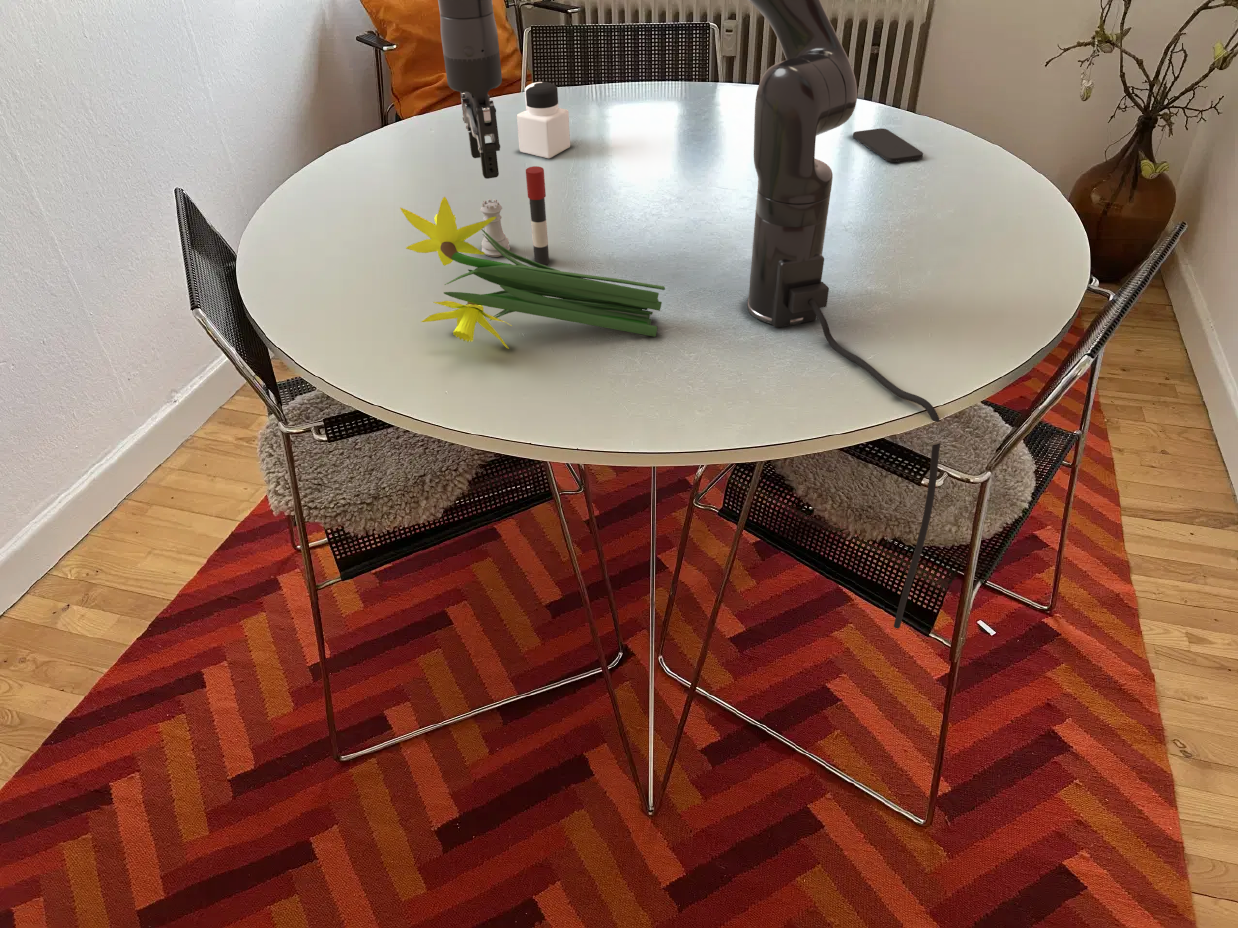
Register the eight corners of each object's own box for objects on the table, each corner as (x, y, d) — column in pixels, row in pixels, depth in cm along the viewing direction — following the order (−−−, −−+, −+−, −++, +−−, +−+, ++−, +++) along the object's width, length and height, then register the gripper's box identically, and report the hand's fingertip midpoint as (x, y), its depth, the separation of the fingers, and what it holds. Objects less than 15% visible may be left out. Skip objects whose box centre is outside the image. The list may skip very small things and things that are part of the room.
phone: (885, 127, 178) (926, 154, 167) (884, 132, 179) (925, 158, 168) (850, 132, 177) (889, 159, 166) (850, 136, 177) (889, 163, 166)
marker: (552, 264, 138) (545, 171, 129) (535, 267, 138) (527, 174, 129) (548, 257, 140) (541, 165, 131) (531, 260, 140) (523, 167, 131)
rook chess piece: (516, 250, 142) (511, 202, 137) (494, 261, 140) (489, 211, 135) (497, 242, 145) (492, 194, 140) (475, 252, 142) (469, 203, 137)
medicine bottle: (571, 147, 176) (567, 82, 168) (549, 159, 171) (545, 93, 164) (541, 140, 179) (536, 76, 171) (519, 152, 174) (513, 87, 167)
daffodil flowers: (660, 375, 116) (379, 326, 109) (634, 371, 131) (385, 328, 123) (683, 242, 115) (400, 184, 107) (655, 253, 129) (403, 202, 121)
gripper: (510, 60, 119) (521, 181, 129) (487, 33, 129) (499, 147, 139) (452, 66, 117) (468, 188, 127) (434, 39, 127) (450, 153, 138)
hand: (484, 166), depth 133 cm, fingers open, 8 cm apart
